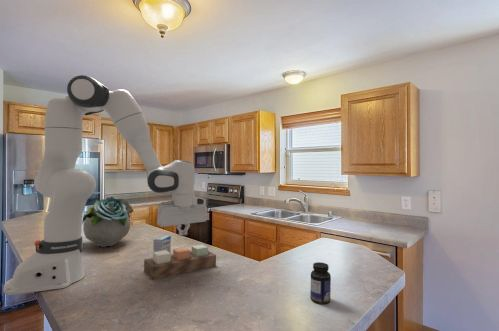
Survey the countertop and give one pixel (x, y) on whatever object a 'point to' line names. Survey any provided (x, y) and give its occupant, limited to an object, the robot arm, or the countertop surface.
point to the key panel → (178, 265)
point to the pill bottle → (320, 283)
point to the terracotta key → (181, 253)
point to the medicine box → (162, 243)
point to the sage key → (199, 250)
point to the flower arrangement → (107, 221)
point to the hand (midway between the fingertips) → (183, 235)
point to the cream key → (161, 257)
